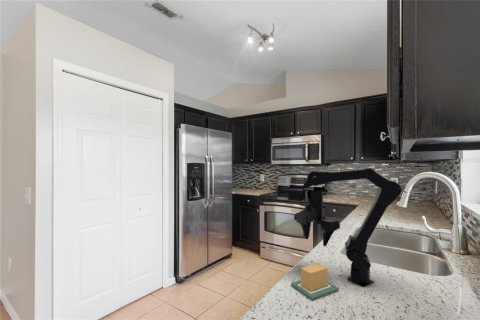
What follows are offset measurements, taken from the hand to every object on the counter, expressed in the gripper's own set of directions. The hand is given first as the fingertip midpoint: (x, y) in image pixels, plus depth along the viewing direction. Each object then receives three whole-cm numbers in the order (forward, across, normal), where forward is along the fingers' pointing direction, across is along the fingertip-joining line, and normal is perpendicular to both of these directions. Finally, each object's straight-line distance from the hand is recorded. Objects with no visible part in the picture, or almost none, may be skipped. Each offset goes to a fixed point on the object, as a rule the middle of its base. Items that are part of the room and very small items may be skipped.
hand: (315, 242), depth 91 cm
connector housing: (+11, +8, -9) cm, 16 cm away
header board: (+12, +8, -9) cm, 17 cm away
